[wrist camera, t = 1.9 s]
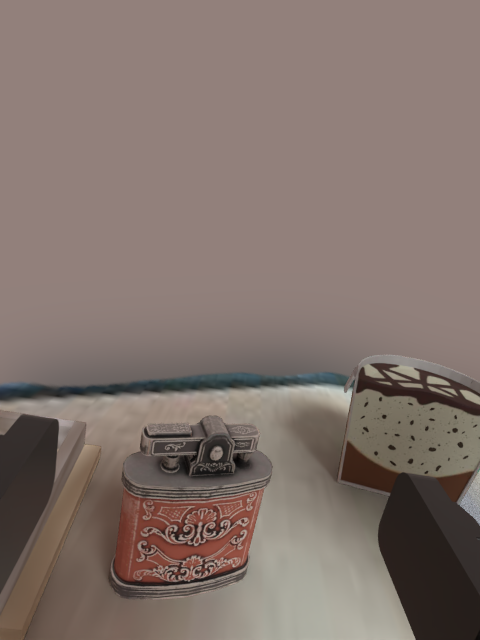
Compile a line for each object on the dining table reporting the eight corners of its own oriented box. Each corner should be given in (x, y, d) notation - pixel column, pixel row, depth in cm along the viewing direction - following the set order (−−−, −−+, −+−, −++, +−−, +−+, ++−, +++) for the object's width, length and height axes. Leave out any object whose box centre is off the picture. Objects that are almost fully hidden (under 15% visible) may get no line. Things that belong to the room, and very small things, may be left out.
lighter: (237, 540, 29) (269, 405, 26) (254, 586, 26) (292, 441, 23) (107, 554, 26) (125, 406, 23) (110, 608, 23) (131, 447, 20)
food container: (452, 471, 41) (491, 374, 38) (473, 519, 36) (522, 409, 32) (319, 436, 43) (346, 340, 39) (318, 477, 37) (351, 367, 34)
